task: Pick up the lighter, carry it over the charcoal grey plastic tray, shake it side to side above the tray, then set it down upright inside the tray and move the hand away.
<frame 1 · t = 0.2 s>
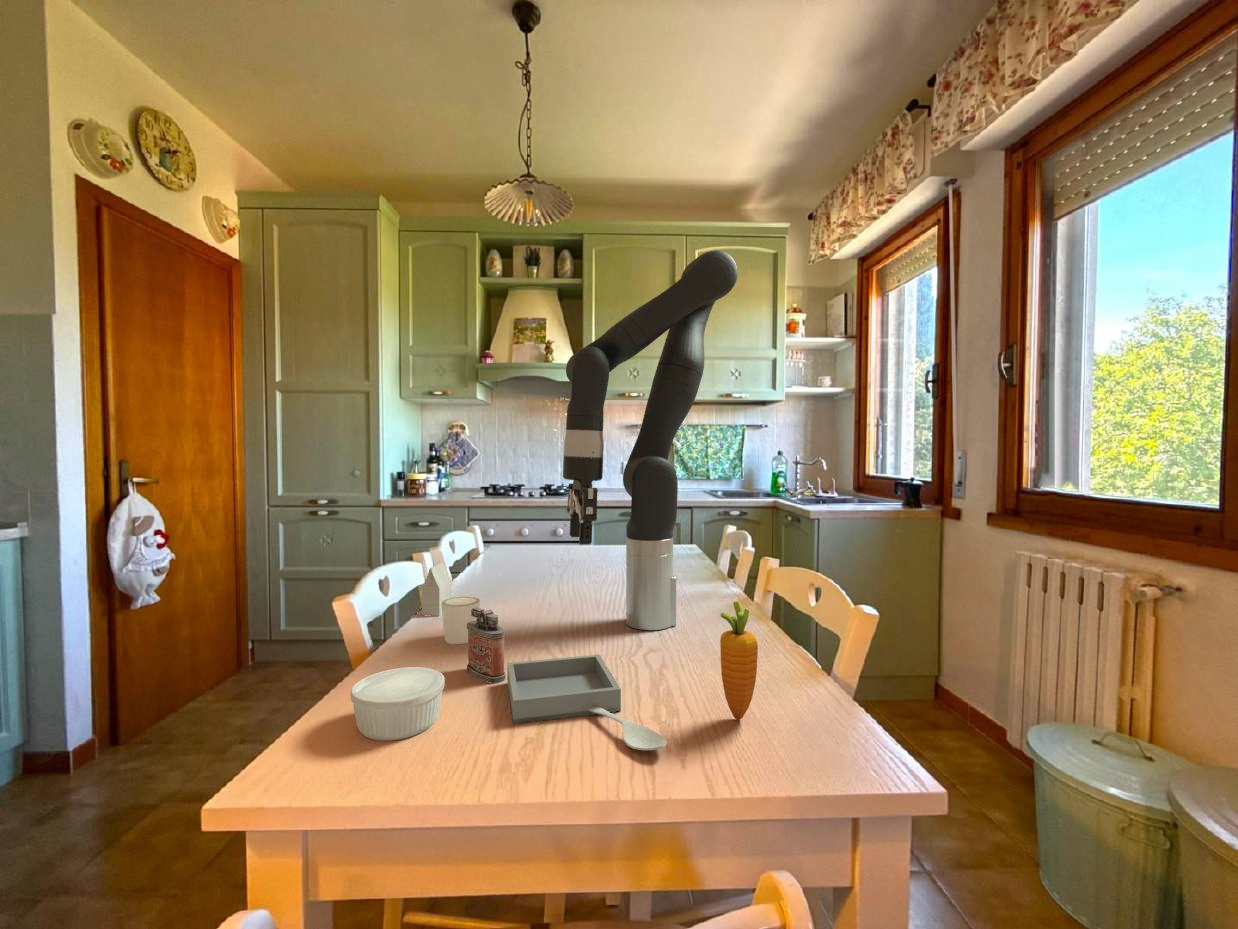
hand: (580, 540, 108), 17 cm above the table, tool pointing down, fingers open, 8 cm apart
ramekin: (399, 725, 72), on the table
tray: (560, 696, 80), on the table
cream cup: (461, 640, 104), on the table
carrot: (738, 721, 73), on the table
spoon: (609, 725, 72), on the table, touching tray
white milk carton: (437, 612, 121), on the table
lighter: (485, 676, 88), on the table
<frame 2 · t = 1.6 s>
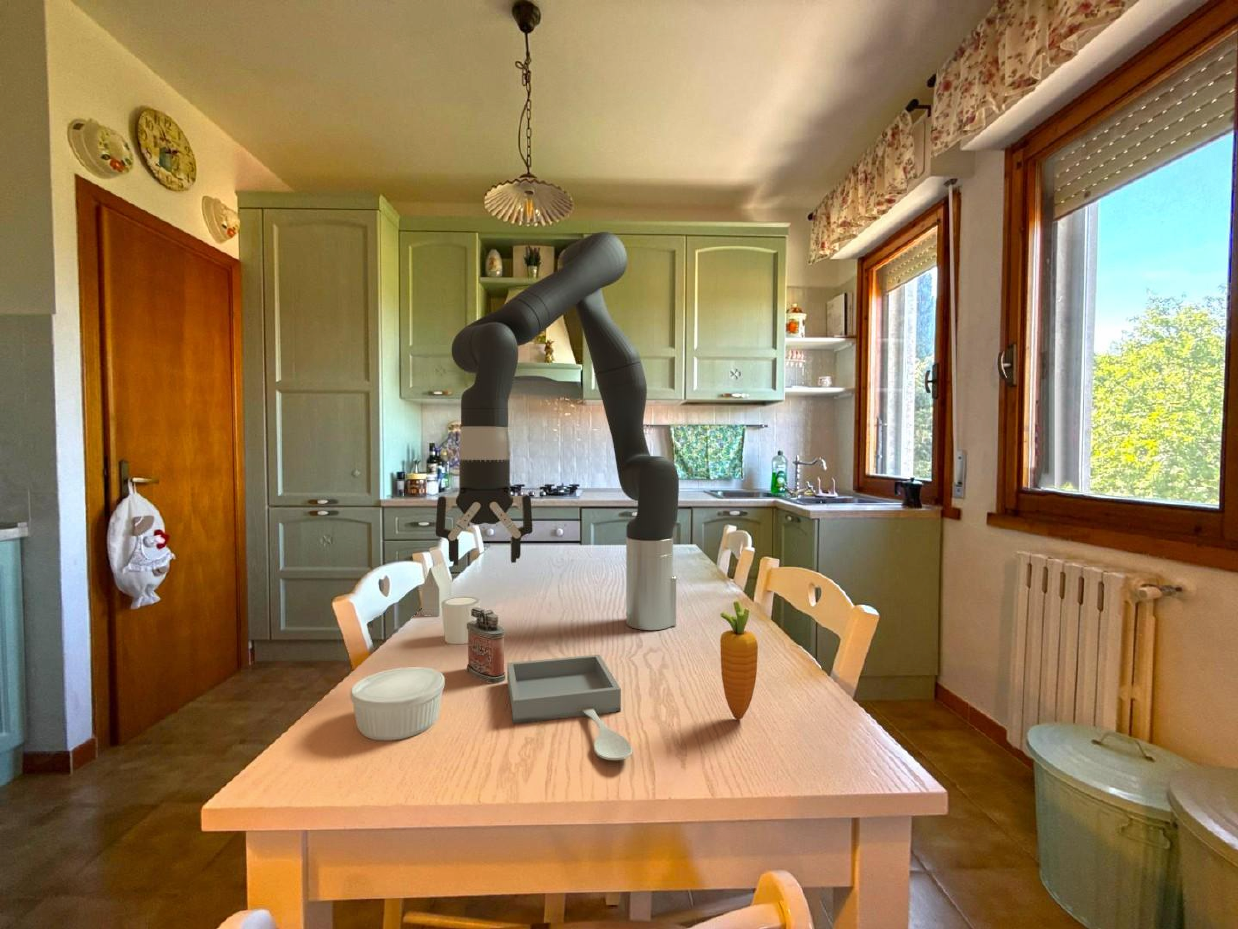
hand: (484, 563, 87), 17 cm above the table, tool pointing down, fingers open, 8 cm apart
spoon: (595, 728, 71), on the table, touching tray
everything else where it was.
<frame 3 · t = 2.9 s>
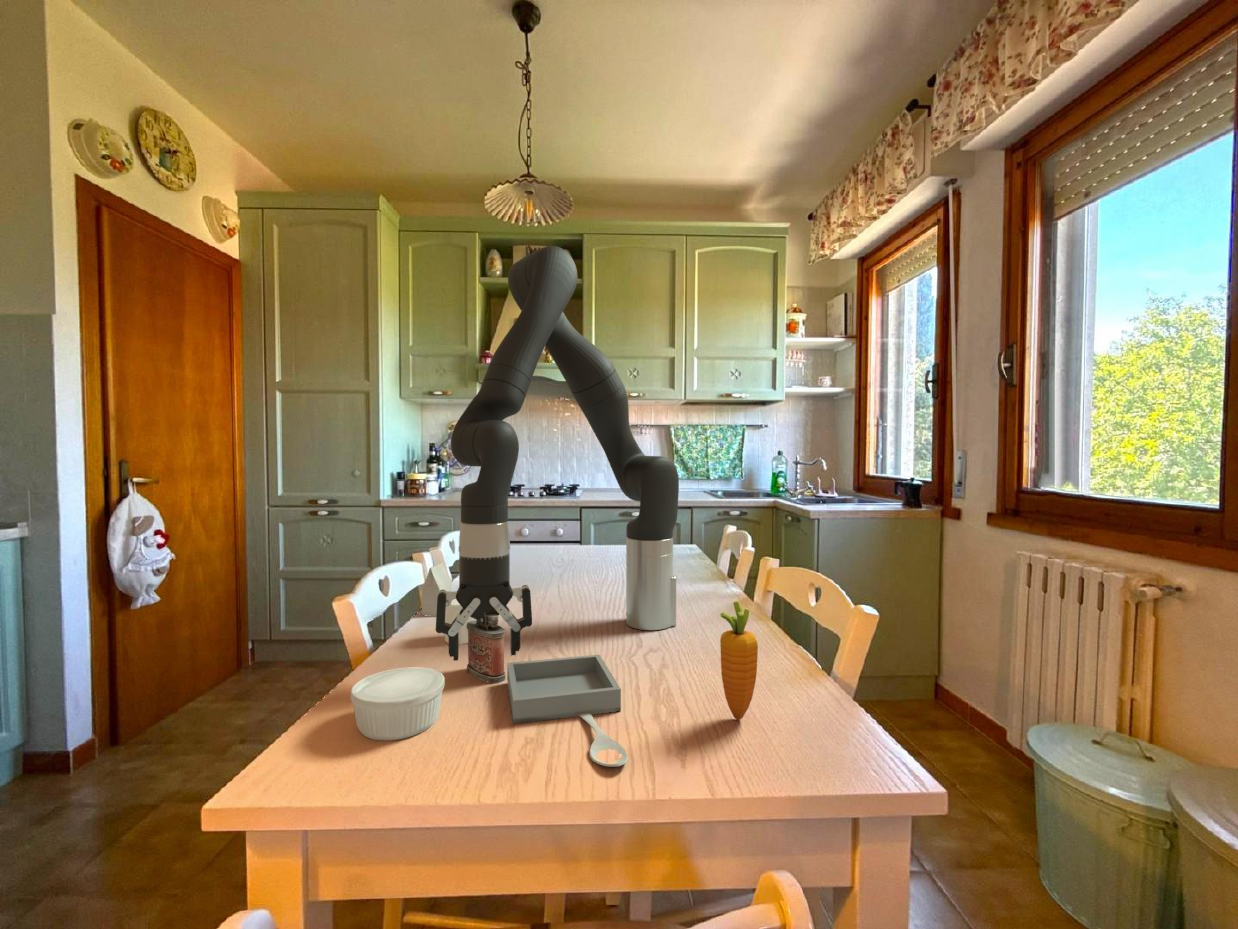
hand: (484, 656, 87), 3 cm above the table, tool pointing down, fingers open, 8 cm apart
spoon: (592, 734, 71), on the table
everything else where it was.
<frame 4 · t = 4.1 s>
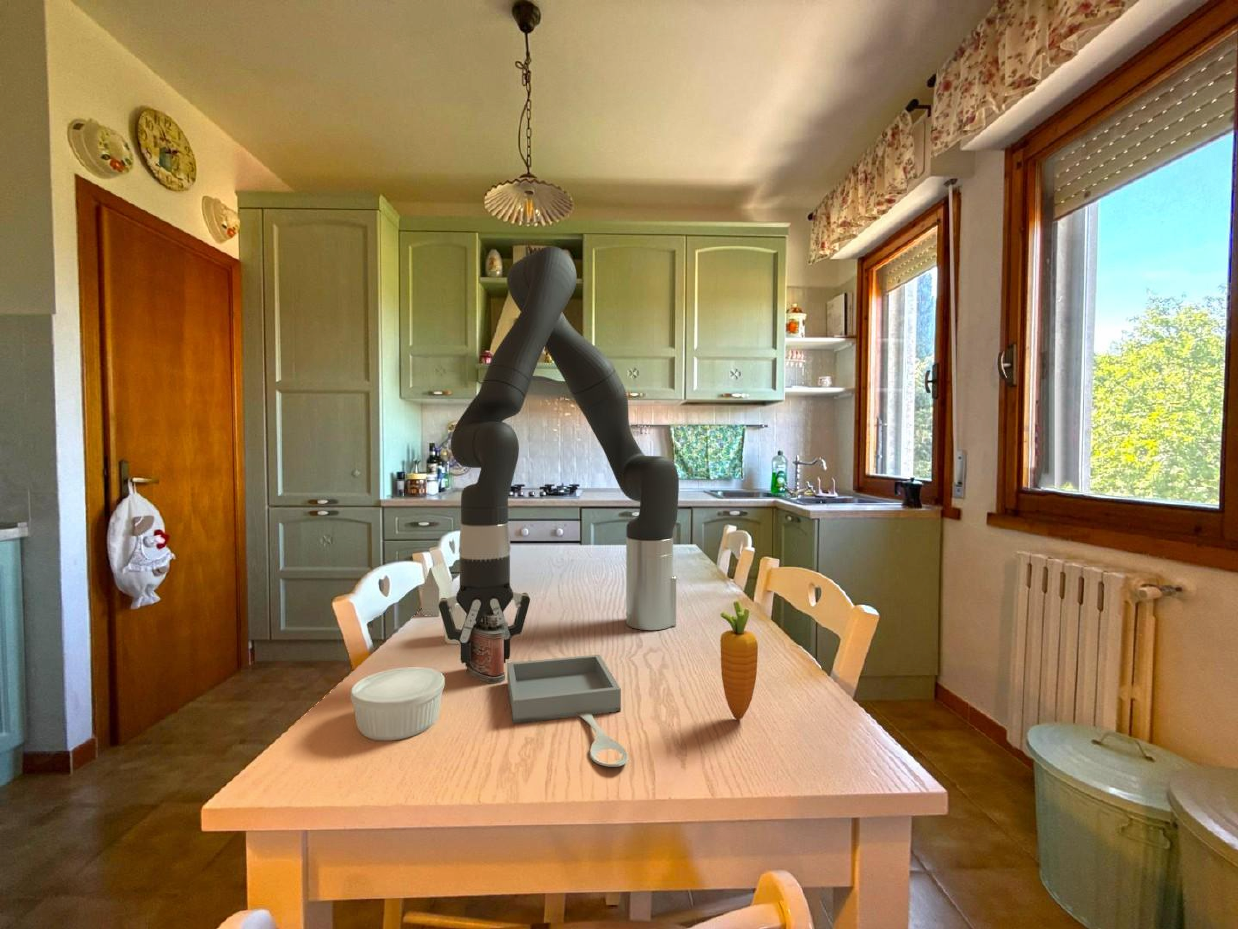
hand: (485, 662, 87), 2 cm above the table, tool pointing down, fingers closed on lighter, 4 cm apart
lighter: (485, 676, 88), on the table, touching gripper
everything else where it was.
when the fingers open (4 cm above the table, at t = 10.8 s): lighter drops 1 cm, resting on tray.
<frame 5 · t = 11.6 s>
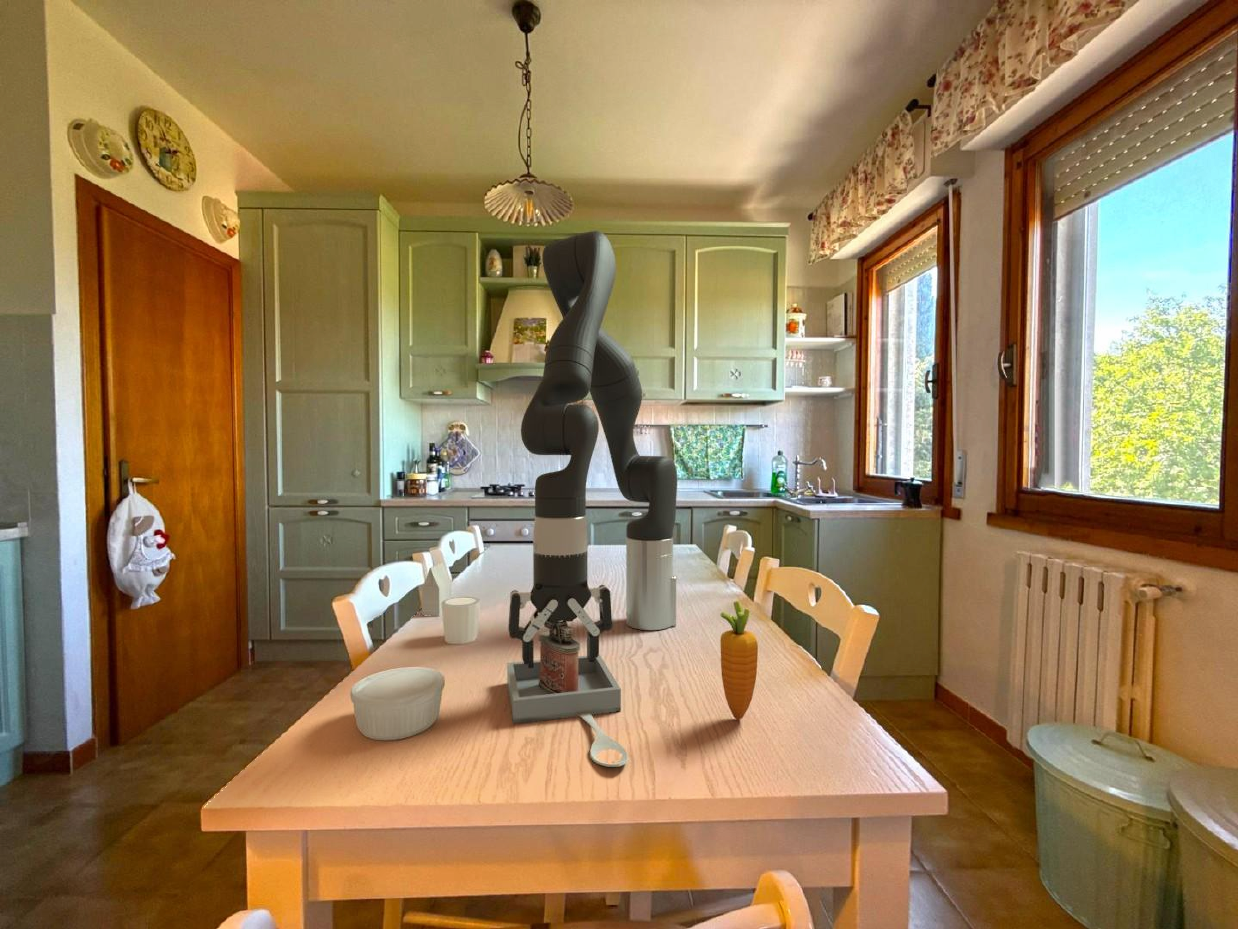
hand: (560, 663, 80), 5 cm above the table, tool pointing down, fingers open, 8 cm apart
lighter: (558, 693, 80), resting on tray
everything else where it was.
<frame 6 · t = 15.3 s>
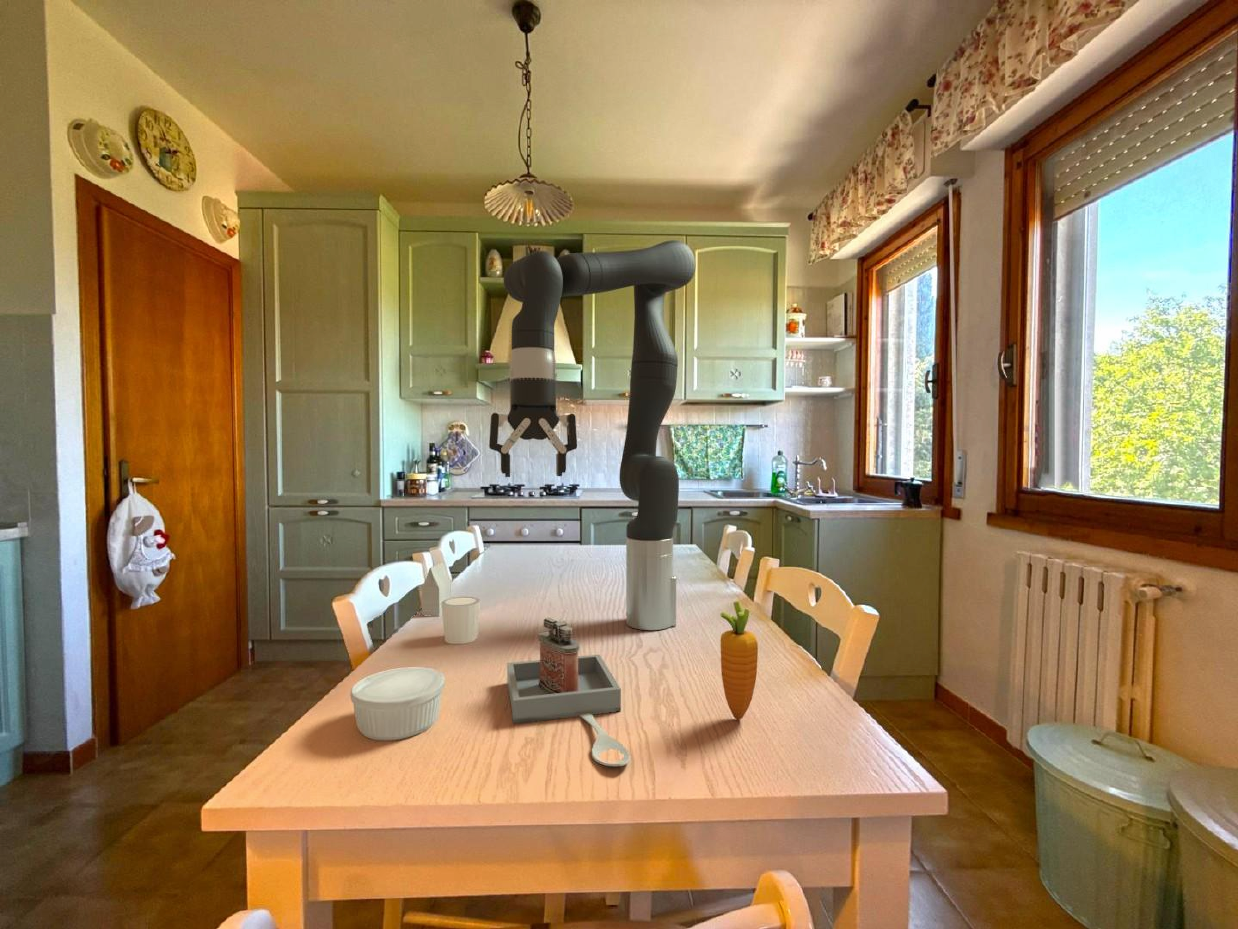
hand: (533, 476, 95), 30 cm above the table, tool pointing down, fingers open, 8 cm apart
nothing on the table moved.
at the end: lighter inside the target area on the tray (0.3 cm from its centre), point 0.4 cm above the tray's base; lighter tilted 0°; the gripper is holding nothing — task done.
